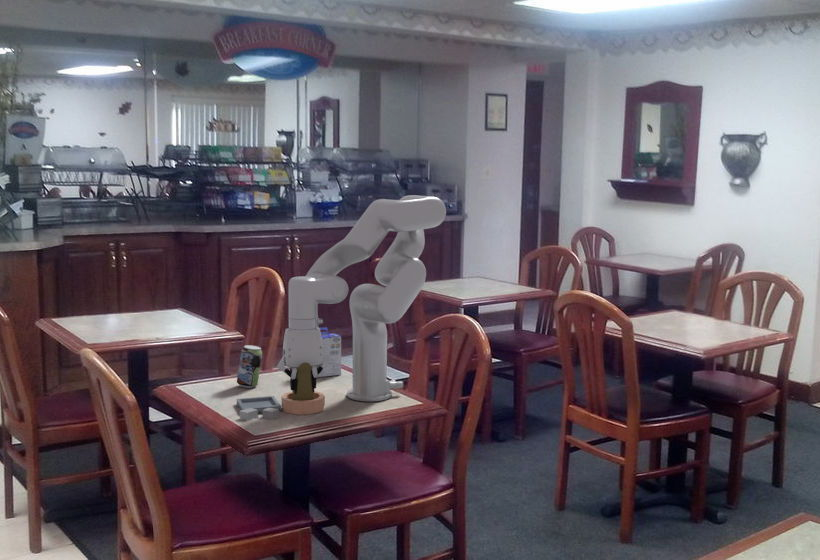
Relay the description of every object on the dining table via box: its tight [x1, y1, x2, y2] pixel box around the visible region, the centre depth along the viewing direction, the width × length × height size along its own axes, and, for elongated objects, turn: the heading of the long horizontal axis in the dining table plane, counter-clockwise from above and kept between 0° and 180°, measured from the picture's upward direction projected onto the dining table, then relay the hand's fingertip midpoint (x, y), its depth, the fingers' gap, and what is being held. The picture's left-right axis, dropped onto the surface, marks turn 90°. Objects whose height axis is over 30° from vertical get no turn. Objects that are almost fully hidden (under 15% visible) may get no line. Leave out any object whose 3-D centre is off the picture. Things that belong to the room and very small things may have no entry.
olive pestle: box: [292, 362, 315, 401], centre depth 229 cm, size 6×6×11 cm
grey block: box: [261, 408, 280, 420], centre depth 223 cm, size 3×3×2 cm
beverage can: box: [236, 344, 263, 389], centre depth 250 cm, size 6×7×12 cm
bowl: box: [280, 390, 326, 416], centre depth 229 cm, size 11×11×4 cm
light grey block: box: [239, 408, 259, 421], centre depth 221 cm, size 4×3×2 cm
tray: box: [236, 395, 282, 414], centre depth 230 cm, size 10×10×2 cm
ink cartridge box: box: [316, 326, 342, 378], centre depth 265 cm, size 10×6×14 cm, turn 119°
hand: (303, 391), depth 229 cm, fingers closed on olive pestle, 3 cm apart
